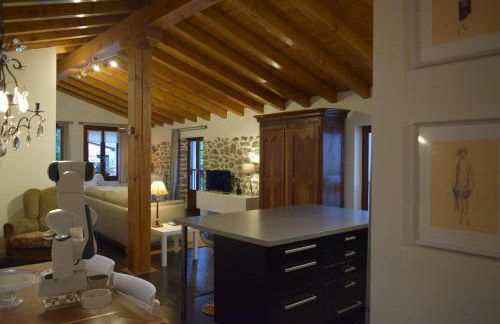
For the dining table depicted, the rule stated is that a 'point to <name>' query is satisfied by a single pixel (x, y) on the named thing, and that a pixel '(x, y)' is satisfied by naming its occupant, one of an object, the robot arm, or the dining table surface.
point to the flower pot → (98, 281)
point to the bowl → (96, 298)
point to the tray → (50, 307)
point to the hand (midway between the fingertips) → (62, 302)
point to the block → (62, 299)
